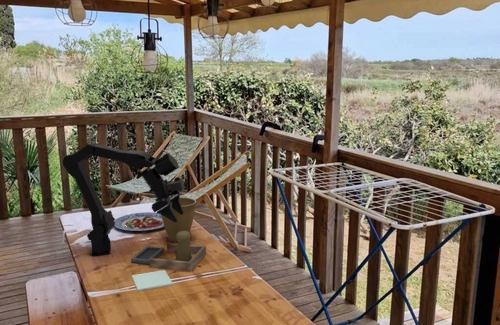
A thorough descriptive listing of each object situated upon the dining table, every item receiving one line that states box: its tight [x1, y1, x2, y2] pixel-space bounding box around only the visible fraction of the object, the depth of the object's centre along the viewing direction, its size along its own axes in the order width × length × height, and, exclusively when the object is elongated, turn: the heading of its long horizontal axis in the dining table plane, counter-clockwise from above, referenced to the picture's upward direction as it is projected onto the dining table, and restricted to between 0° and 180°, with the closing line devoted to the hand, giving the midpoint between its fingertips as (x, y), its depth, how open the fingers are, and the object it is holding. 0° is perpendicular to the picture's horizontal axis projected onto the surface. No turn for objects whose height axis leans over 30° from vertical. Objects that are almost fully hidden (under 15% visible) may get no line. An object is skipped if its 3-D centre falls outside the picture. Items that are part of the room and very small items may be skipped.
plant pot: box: [161, 196, 197, 243], centre depth 182 cm, size 15×15×16 cm
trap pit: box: [130, 245, 165, 266], centre depth 164 cm, size 7×13×2 cm, turn 167°
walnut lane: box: [148, 242, 207, 273], centre depth 162 cm, size 15×16×3 cm
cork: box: [175, 231, 193, 262], centre depth 160 cm, size 6×6×11 cm
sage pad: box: [131, 269, 173, 292], centre depth 145 cm, size 11×11×1 cm
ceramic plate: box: [114, 211, 165, 232], centre depth 201 cm, size 26×26×3 cm
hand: (179, 217), depth 163 cm, fingers open, 9 cm apart
